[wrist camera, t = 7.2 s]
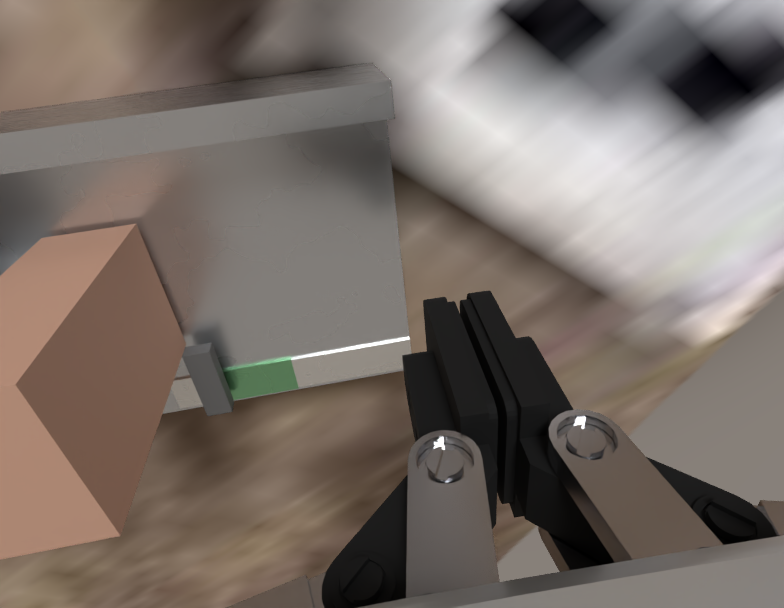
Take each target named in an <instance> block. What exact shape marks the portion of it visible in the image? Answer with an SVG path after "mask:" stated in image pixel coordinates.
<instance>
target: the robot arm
mask: <svg viewBox="0 0 784 608" xmlns="http://www.w3.org/2000/svg"><path fill="white" fill-rule="evenodd" d="M423 306H424V319H425V332H426V345H427V352H420V353H413V354H407V355H402V360H403V370H404V378H405V386H406V393H407V399H408V405H409V411H410V416H411V421H412V427H413V432H414V437H415V443H414V445H413V446H412V448H411V450H410V452H409V457H408V475H407V476H406V477H405V478H404V479H403V481H402V482H401V483H400V484H399V485H398V486H397V488H396V489H395V490H394V491H393V492H392V493H391V495H390V496H389V497H388V498H387V499H386V500H385V501H384V503H383V504H382V505H381V506H380V507H379V508H378V510H377V511H376V512H375V513H374V514H373V515H372V517H371V518H370V519H369V520H368V521H367V522H366V524H365V525H364V526H363V527H362V528H361V529H360V531H359V532H358V533H357V534H356V535H355V536H354V537H353V539H352V540H351V541H350V542H349V543H348V544H347V546H346V547H345V548H344V549H343V550H342V551H341V553H340V554H339V555H338V556H337V557H336V558H335V560H334V561H333V562H332V564H331V565H330V567H329V568H328V570H327V571H326V572H325V573H322V574H320V575H318V576H315V577H313V578H310V579H307V576H306V575H304V576H302V577H299V578H297V579H294V580H292V581H290V582H287V583H285V584H282V585H280V586H277V587H275V588H273V589H270V590H268V591H265V592H263V593H260V594H258V595H255V596H253V597H251V598H248V599H246V600H243V601H241V602H238V603H236V604H234V605H231V606H229V607H226V608H784V502H783V501H765V500H760V502H759V504H758V506H754V505H752V504H750V503H749V502H747V501H745V500H743V499H741V498H740V497H738V496H736V495H734V494H731V493H729V492H727V491H724V490H722V489H720V488H717V487H715V486H713V485H710V484H708V483H706V482H703V481H701V480H699V479H696V478H694V477H692V476H689V475H687V474H685V473H683V472H680V471H678V470H676V469H673V468H671V467H669V466H666V465H664V464H661V463H659V462H657V461H655V460H652V459H650V458H647V457H645V455H644V454H643V453H642V452H641V451H640V450H639V449H638V448H637V446H636V445H635V444H634V443H633V442H632V441H631V440H630V438H629V437H628V436H627V435H626V434H625V433H624V432H623V430H622V429H621V428H620V427H619V426H618V425H617V424H616V423H614V422H613V421H612V420H611V419H609V418H607V417H606V416H604V415H602V414H600V413H596V412H593V411H590V410H579V409H576V410H573V408H572V406H571V405H570V403H569V401H568V399H567V398H566V396H565V394H564V392H563V391H562V389H561V387H560V386H559V384H558V382H557V380H556V379H555V377H554V375H553V374H552V372H551V370H550V368H549V367H548V365H547V363H546V361H545V360H544V358H543V356H542V355H541V353H540V351H539V349H538V348H537V346H536V344H535V342H534V341H533V340H532V338H531V337H529V336H528V337H521V338H515V336H514V334H513V332H512V330H511V328H510V327H509V325H508V323H507V321H506V319H505V317H504V315H503V313H502V312H501V310H500V308H499V306H498V304H497V302H496V300H495V298H494V297H493V295H492V293H491V291H482V292H475V293H469V294H467V300H461V301H460V313H459V311H458V308H457V306H456V304H455V302H454V301H453V302H447V299H446V297H441V298H434V299H427V300H424V301H423ZM497 493H498V496H499V498H500V501H501V503H502V504H505V503H510V506H511V509H512V512H513V515H514V517H520V516H524V517H525V519H526V520H528V521H530V522H532V523H533V524H535V525H537V526H538V530H539V533H540V536H541V539H542V541H543V542H544V544H545V546H546V548H547V550H548V552H549V553H550V555H551V557H552V559H553V561H554V562H555V564H556V566H557V568H558V570H559V571H560V572H557V573H551V574H545V575H539V576H533V577H528V578H522V579H516V580H510V581H504V582H499V575H498V568H497V560H496V553H495V546H494V539H493V532H492V529H493V527H494V526H495V524H496V506H497Z"/></svg>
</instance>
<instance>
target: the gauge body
mask: <svg viewBox="0 0 784 608" xmlns="http://www.w3.org/2000/svg"><path fill="white" fill-rule="evenodd" d="M394 118H395V115H394V104H393V94H392V83H391V80H390V79H389V78H388V77H387V76H386V75H385V74H384V73H383V72H382V71H381V70H380V69H379V68H378V67H377V66H375V65H374V64H373V63H366V64H359V65H352V66H344V67H337V68H329V69H322V70H314V71H307V72H299V73H292V74H284V75H277V76H269V77H262V78H254V79H247V80H239V81H232V82H224V83H217V84H209V85H202V86H194V87H187V88H179V89H172V90H165V91H157V92H150V93H142V94H135V95H127V96H120V97H112V98H105V99H97V100H90V101H82V102H75V103H67V104H60V105H52V106H45V107H37V108H30V109H22V110H15V111H7V112H0V276H1V275H2V274H3V273H4V272H5V271H6V270H7V269H8V268H9V267H10V266H12V265H13V264H14V263H15V262H16V261H17V260H18V259H19V258H20V257H21V256H23V255H24V254H25V253H26V252H27V251H28V250H29V249H30V248H31V247H32V246H34V245H35V244H36V243H37V242H38V241H39V240H40V239H41V238H45V237H51V236H58V235H65V234H71V233H78V232H84V231H91V230H97V229H104V228H111V227H117V226H124V225H130V224H137V227H138V229H139V232H140V234H141V236H142V239H143V241H144V244H145V246H146V248H147V251H148V253H149V256H150V258H151V260H152V263H153V265H154V268H155V270H156V272H157V275H158V277H159V280H160V282H161V284H162V287H163V289H164V292H165V294H166V296H167V299H168V301H169V304H170V306H171V308H172V311H173V313H174V316H175V318H176V320H177V323H178V325H179V328H180V330H181V332H182V335H183V337H184V340H185V342H186V346H185V347H188V346H194V345H200V344H206V343H212V344H213V347H214V350H215V352H216V355H217V358H218V360H219V363H220V365H221V368H222V371H223V373H224V376H225V379H226V381H227V384H228V386H229V389H230V392H231V394H232V397H233V400H234V401H237V400H242V399H248V398H254V397H259V396H265V395H270V394H276V393H281V392H287V391H292V390H298V389H304V388H309V387H315V386H320V385H326V384H331V383H337V382H342V381H348V380H354V379H359V378H365V377H370V376H376V375H381V374H387V373H392V372H398V371H403V360H402V355H407V354H411V345H410V338H409V329H408V319H407V309H406V300H405V290H404V281H403V271H402V262H401V252H400V243H399V233H398V223H397V214H396V204H395V195H394V185H393V176H392V166H391V157H390V147H389V137H388V128H387V119H394ZM198 407H203V404H202V402H201V400H200V397H199V395H198V393H197V391H196V388H195V386H194V384H193V381H192V379H191V377H190V374H189V372H188V370H187V367H186V365H185V363H184V360H183V358H181V361H180V364H179V367H178V370H177V373H176V375H175V378H174V381H173V384H172V387H171V390H170V393H169V396H168V399H167V402H166V405H165V408H164V410H163V413H162V414H165V413H170V412H176V411H181V410H187V409H192V408H198Z"/></svg>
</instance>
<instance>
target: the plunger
mask: <svg viewBox="0 0 784 608" xmlns="http://www.w3.org/2000/svg"><path fill="white" fill-rule="evenodd" d="M185 346H186V342H185V340H184V337H183V335H182V332H181V330H180V328H179V325H178V323H177V320H176V318H175V316H174V313H173V311H172V308H171V306H170V304H169V301H168V299H167V296H166V294H165V292H164V289H163V287H162V284H161V282H160V280H159V277H158V275H157V272H156V270H155V268H154V265H153V263H152V260H151V258H150V256H149V253H148V251H147V248H146V246H145V244H144V241H143V239H142V236H141V234H140V232H139V229H138V227H137V224H130V225H124V226H117V227H111V228H104V229H97V230H91V231H84V232H78V233H71V234H65V235H58V236H51V237H45V238H41V239H40V240H39V241H38V242H37V243H36V244H35V245H34V246H32V247H31V248H30V249H29V250H28V251H27V252H26V253H25V254H24V255H23V256H21V257H20V258H19V259H18V260H17V261H16V262H15V263H14V264H13V265H12V266H10V267H9V268H8V269H7V270H6V271H5V272H4V273H3V274H2V275H1V276H0V559H5V558H10V557H15V556H20V555H25V554H31V553H36V552H41V551H46V550H51V549H56V548H61V547H66V546H71V545H76V544H81V543H87V542H92V541H97V540H102V539H107V538H112V537H117V536H121V533H122V530H123V527H124V524H125V521H126V518H127V515H128V512H129V510H130V507H131V504H132V501H133V498H134V495H135V492H136V489H137V486H138V483H139V480H140V477H141V475H142V472H143V469H144V466H145V463H146V460H147V457H148V454H149V451H150V448H151V445H152V442H153V440H154V437H155V434H156V431H157V428H158V425H159V422H160V419H161V416H162V413H163V410H164V408H165V405H166V402H167V399H168V396H169V393H170V390H171V387H172V384H173V381H174V378H175V375H176V373H177V370H178V367H179V364H180V361H181V358H183V360H184V363H185V365H186V367H187V370H188V372H189V374H190V377H191V379H192V381H193V384H194V386H195V388H196V391H197V393H198V395H199V397H200V400H201V402H202V404H203V407H204V409H205V411H206V414H207V416H212V415H217V414H223V413H228V412H233V406H234V400H233V397H232V394H231V392H230V389H229V386H228V384H227V381H226V379H225V376H224V373H223V371H222V368H221V365H220V363H219V360H218V358H217V355H216V352H215V350H214V347H213V344H212V343H206V344H200V345H194V346H188V347H185Z"/></svg>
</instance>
